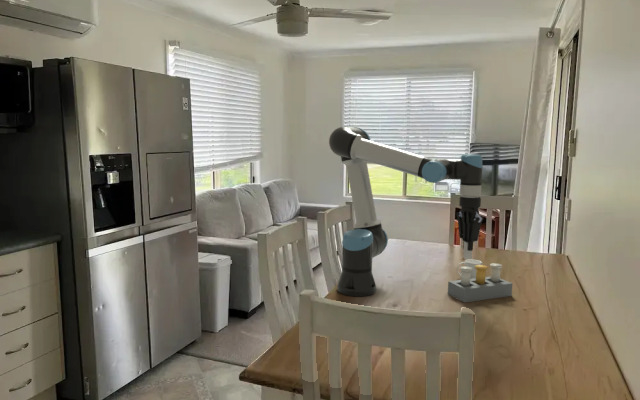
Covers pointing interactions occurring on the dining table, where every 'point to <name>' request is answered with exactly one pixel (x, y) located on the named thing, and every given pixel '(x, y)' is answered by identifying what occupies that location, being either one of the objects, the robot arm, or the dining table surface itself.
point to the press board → (479, 290)
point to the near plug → (465, 275)
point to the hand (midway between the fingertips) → (467, 258)
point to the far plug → (495, 272)
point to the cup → (471, 264)
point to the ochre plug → (480, 274)
